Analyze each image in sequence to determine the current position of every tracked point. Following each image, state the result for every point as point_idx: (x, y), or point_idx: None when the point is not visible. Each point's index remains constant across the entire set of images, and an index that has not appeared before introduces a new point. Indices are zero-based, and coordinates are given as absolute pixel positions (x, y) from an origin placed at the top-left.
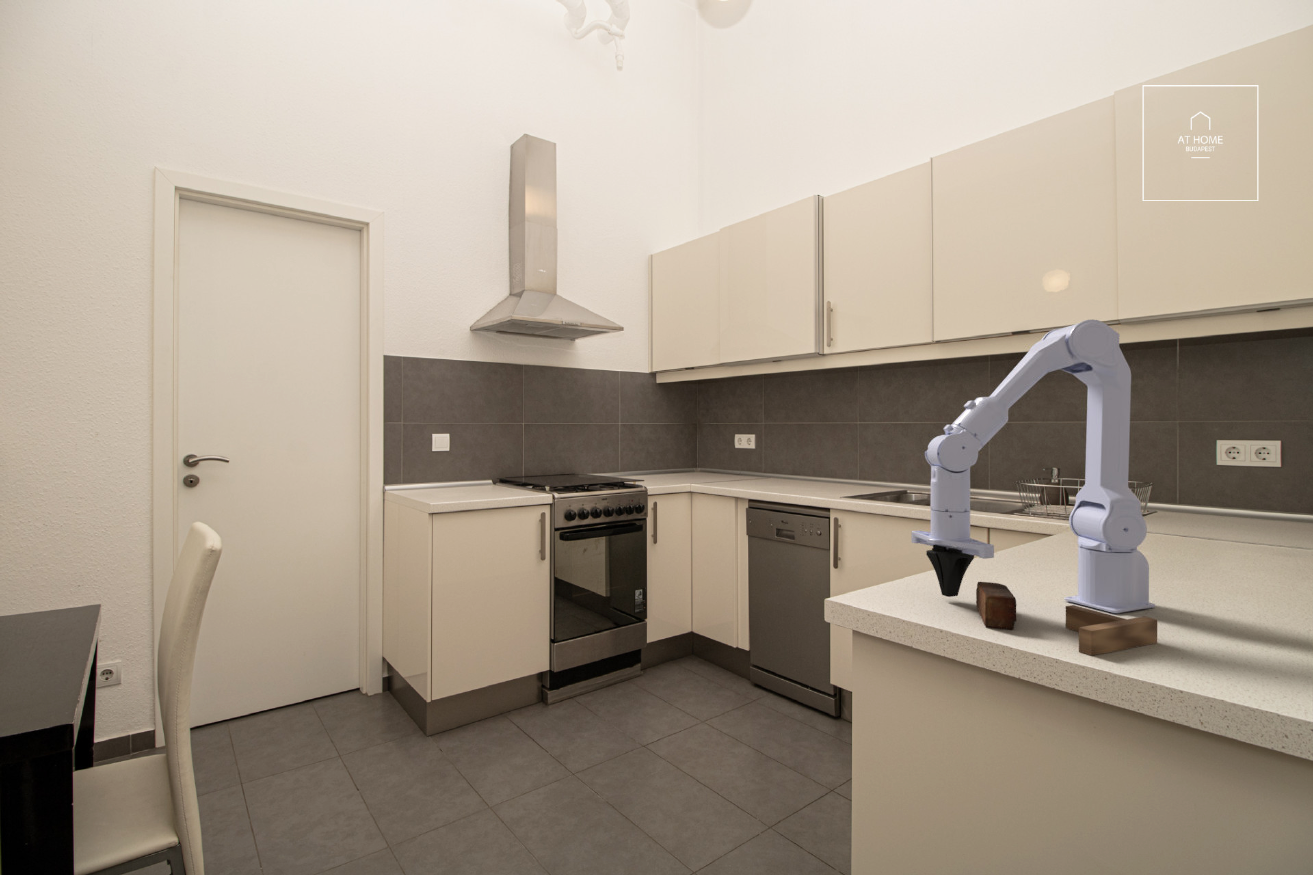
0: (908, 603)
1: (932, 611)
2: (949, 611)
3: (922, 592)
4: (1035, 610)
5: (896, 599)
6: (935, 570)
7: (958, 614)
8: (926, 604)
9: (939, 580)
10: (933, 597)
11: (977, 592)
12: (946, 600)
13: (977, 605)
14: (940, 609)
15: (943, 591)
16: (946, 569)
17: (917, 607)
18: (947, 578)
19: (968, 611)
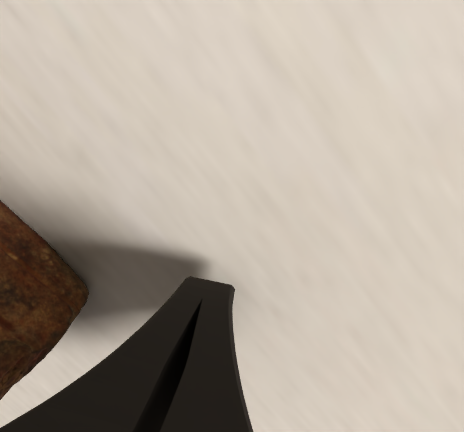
0: (319, 63)
1: (114, 39)
2: (84, 131)
3: (409, 332)
4: (14, 386)
5: (440, 78)
6: (233, 398)
7: (26, 121)
8: (240, 146)
9: (219, 338)
10: (312, 293)
11: (3, 311)
12: (240, 292)
13: (46, 265)
14: (130, 123)
15: (210, 292)
16: (88, 395)
17: (221, 31)
18: (132, 343)
19: (59, 209)
